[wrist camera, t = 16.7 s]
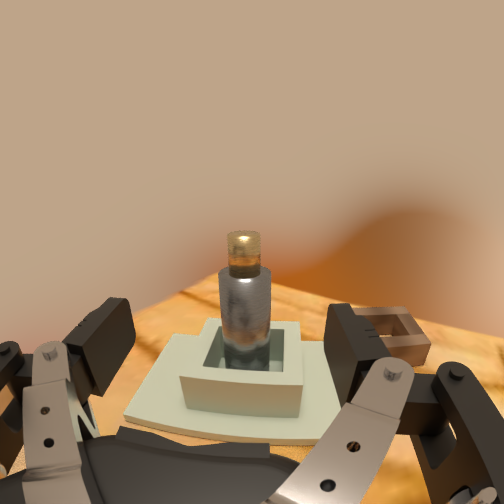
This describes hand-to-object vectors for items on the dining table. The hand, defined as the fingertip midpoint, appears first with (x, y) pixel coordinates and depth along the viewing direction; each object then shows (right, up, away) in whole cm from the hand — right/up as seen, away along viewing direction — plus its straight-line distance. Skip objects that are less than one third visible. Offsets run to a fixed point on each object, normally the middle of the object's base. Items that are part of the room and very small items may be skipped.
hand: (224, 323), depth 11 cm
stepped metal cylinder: (+1, -9, +14) cm, 17 cm away
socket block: (+16, -9, +19) cm, 27 cm away
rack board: (+1, -10, +14) cm, 18 cm away
